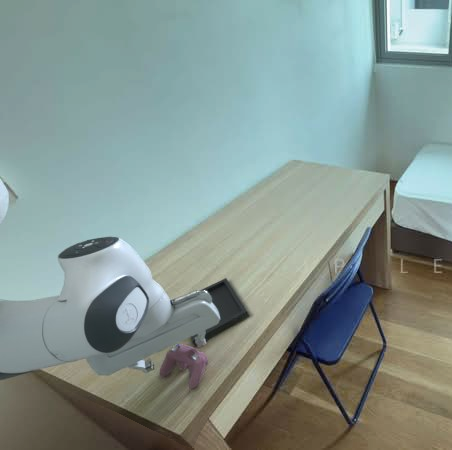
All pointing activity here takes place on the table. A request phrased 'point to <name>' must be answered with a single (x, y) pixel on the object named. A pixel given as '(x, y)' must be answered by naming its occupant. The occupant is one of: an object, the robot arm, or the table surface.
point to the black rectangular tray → (224, 308)
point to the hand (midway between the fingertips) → (177, 355)
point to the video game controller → (185, 362)
